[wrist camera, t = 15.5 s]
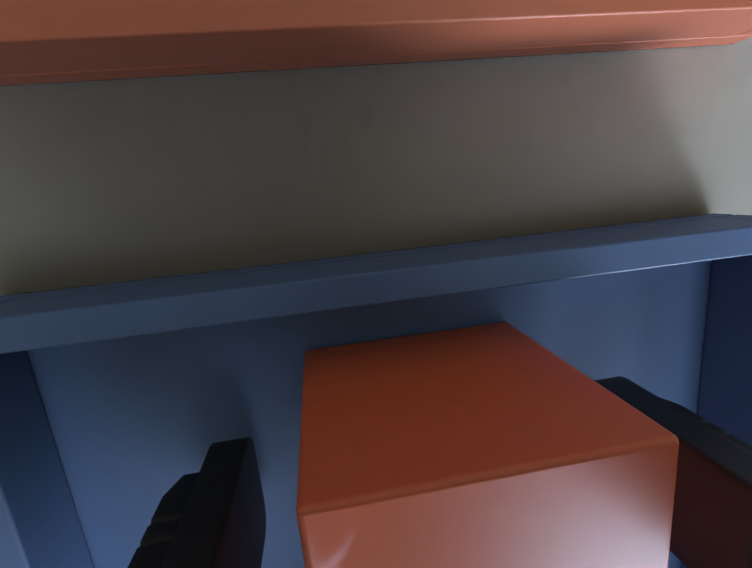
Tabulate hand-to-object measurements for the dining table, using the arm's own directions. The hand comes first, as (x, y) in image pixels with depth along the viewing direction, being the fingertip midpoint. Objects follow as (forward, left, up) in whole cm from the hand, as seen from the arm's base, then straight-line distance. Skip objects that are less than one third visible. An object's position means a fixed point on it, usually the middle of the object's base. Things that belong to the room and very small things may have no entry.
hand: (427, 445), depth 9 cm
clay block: (0, 0, -1) cm, 1 cm away
